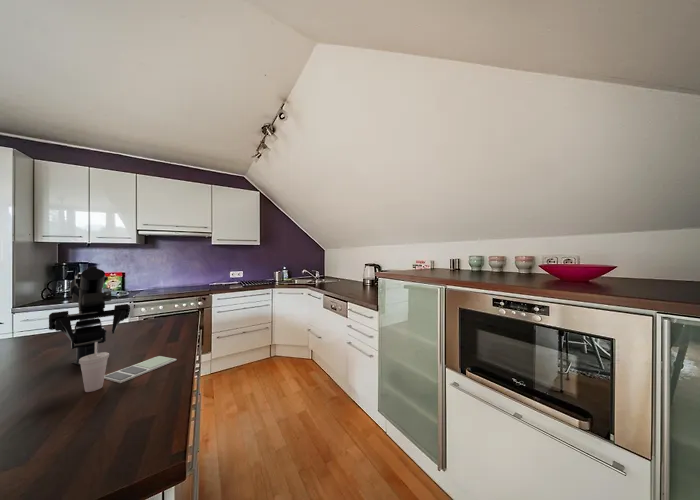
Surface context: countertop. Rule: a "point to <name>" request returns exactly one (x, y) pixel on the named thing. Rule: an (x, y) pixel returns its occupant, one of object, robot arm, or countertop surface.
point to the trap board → (138, 369)
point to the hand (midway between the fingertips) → (93, 336)
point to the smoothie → (93, 370)
